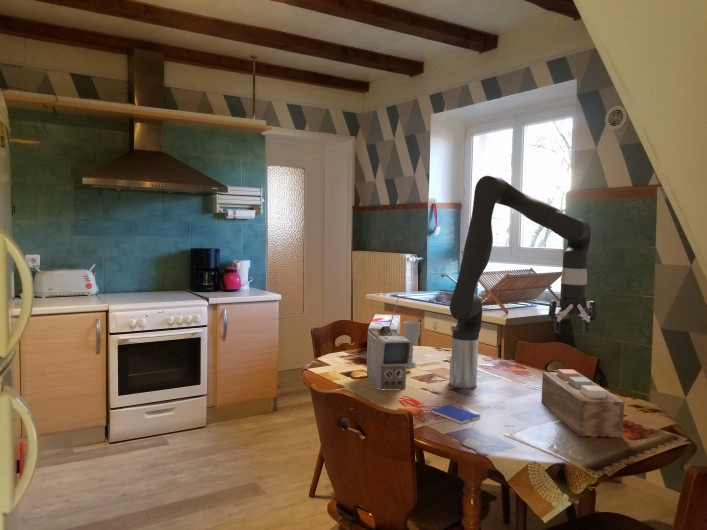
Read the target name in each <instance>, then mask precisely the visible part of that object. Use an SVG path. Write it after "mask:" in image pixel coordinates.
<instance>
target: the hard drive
mask: <svg viewBox="0 0 707 530" xmlns="http://www.w3.org/2000/svg"><path fill="white" fill-rule="evenodd" d="M431 413H433V414H435V415H438V416H441V417H442V418H445V419H449V420H451V421H454V422H456V423H459V424H461V425H463V424H466V423H470V422H473V421H476V420H477V421H478V420H479V419H481V415H479V414H476V413H473V412H471V411H468V410H465V409H463V408H460V407H457V406H455V405H452V404H449V403H448V404H444V405H442V406H436V407H433V408H431Z"/></svg>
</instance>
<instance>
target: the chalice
mask: <svg viewBox="0 0 707 530" xmlns="http://www.w3.org/2000/svg"><path fill="white" fill-rule="evenodd" d="M403 324H404V334H403V335H404V338H406V339H407V340H409V341H410V342H411V343H412V347H411V357H410V364H409V365H407V366H406V367H408V368H407V369H416V367H417V368H418V365H417V363H416V361H415V360H414V359H413V357H414V353H413V352H414V346H416V344H417V342H418V340H419V338H420V335H421V325H422V322H420V321H413V320H412V321H411V320H409V321H403Z"/></svg>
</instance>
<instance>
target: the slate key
mask: <svg viewBox="0 0 707 530" xmlns="http://www.w3.org/2000/svg"><path fill="white" fill-rule="evenodd" d="M587 378H588V377H587V376H585V377H569V385H570V386H571V387H573V388H574V389H581V385H587V386H592V382H593V381H592V380H591V379H589V378H588V379H587ZM590 380H591V381H590Z"/></svg>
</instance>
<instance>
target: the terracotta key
mask: <svg viewBox="0 0 707 530" xmlns="http://www.w3.org/2000/svg"><path fill="white" fill-rule="evenodd" d="M557 373H558V374H557V376H558V377H559V378H560V379H562V380H569V377H579V376H580V374H581V373H580V372H578V371H577V370H575V369H567V368H566V369H563V368H560V369H559V368H558V369H557ZM579 373H580V374H579Z"/></svg>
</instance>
